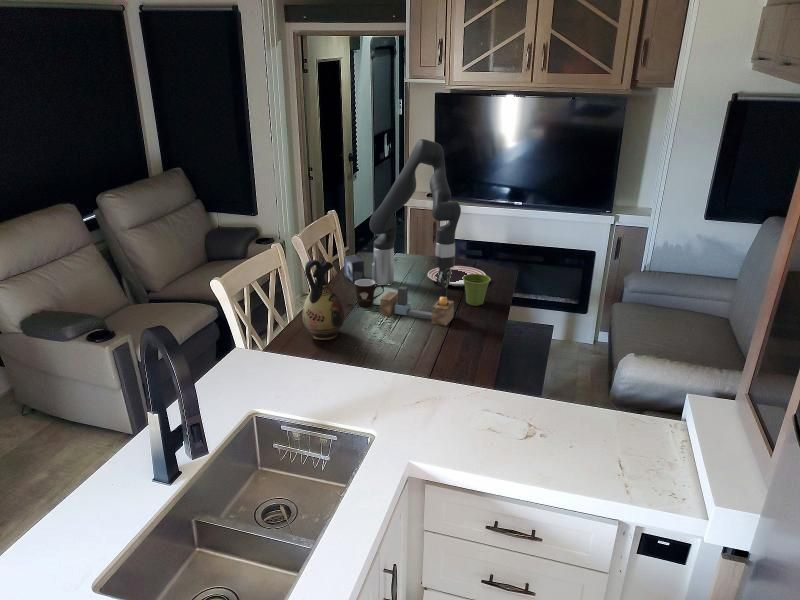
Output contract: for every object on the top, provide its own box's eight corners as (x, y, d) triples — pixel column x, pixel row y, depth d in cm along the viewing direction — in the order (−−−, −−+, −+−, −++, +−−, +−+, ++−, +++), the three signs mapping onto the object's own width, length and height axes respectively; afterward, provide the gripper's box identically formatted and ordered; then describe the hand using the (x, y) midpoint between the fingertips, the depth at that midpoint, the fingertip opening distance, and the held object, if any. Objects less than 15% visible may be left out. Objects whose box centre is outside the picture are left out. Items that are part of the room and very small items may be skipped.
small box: (343, 277, 282) (342, 256, 278) (355, 275, 284) (355, 254, 281) (352, 283, 273) (351, 262, 269) (365, 281, 276) (364, 260, 272)
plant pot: (467, 309, 245) (468, 284, 240) (457, 299, 255) (458, 274, 251) (493, 306, 248) (495, 281, 243) (482, 296, 258) (484, 272, 254)
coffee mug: (351, 306, 247) (350, 283, 244) (361, 299, 254) (361, 277, 251) (375, 311, 242) (374, 288, 239) (385, 304, 249) (385, 282, 246)
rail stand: (380, 314, 239) (380, 298, 236) (389, 307, 247) (389, 291, 244) (446, 325, 229) (447, 309, 226) (453, 317, 237) (453, 301, 234)
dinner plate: (417, 275, 285) (417, 268, 284) (466, 268, 296) (466, 261, 294) (445, 294, 262) (445, 287, 260) (496, 285, 272) (497, 278, 271)
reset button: (438, 306, 231) (438, 298, 230) (440, 304, 234) (441, 296, 232) (445, 308, 230) (445, 299, 229) (447, 305, 233) (448, 297, 231)
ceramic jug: (324, 323, 231) (321, 250, 220) (353, 334, 222) (351, 258, 211) (291, 337, 219) (286, 260, 208) (320, 349, 210) (316, 269, 198)
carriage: (394, 313, 238) (394, 289, 235) (399, 308, 243) (399, 285, 239) (406, 315, 237) (406, 290, 233) (410, 310, 241) (410, 286, 237)
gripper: (441, 248, 231) (439, 289, 237) (430, 257, 219) (429, 300, 226) (459, 250, 228) (457, 291, 235) (449, 259, 217) (447, 303, 223)
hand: (443, 296), depth 230 cm, fingers closed
